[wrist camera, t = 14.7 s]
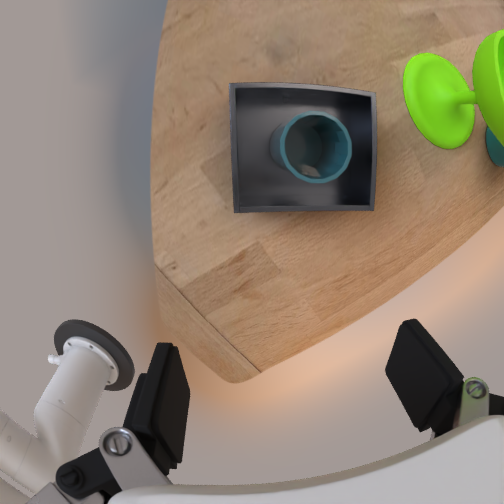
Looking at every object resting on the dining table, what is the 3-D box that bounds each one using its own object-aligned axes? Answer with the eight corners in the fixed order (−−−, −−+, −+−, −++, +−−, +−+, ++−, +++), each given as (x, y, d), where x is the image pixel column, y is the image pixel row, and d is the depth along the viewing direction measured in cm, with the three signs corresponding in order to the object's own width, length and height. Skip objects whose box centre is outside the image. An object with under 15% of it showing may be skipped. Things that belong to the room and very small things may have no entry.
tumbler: (270, 173, 31) (281, 183, 23) (269, 119, 29) (279, 109, 21) (323, 173, 32) (351, 184, 23) (323, 121, 29) (351, 114, 21)
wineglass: (445, 45, 24) (522, 26, 7) (483, 130, 29) (561, 143, 13) (383, 66, 27) (471, 34, 10) (430, 165, 32) (523, 191, 15)
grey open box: (235, 199, 34) (233, 213, 27) (231, 95, 29) (229, 83, 22) (350, 198, 34) (373, 210, 27) (351, 100, 29) (375, 92, 22)
